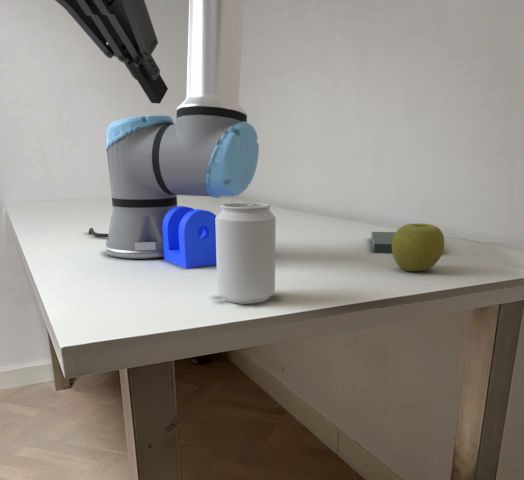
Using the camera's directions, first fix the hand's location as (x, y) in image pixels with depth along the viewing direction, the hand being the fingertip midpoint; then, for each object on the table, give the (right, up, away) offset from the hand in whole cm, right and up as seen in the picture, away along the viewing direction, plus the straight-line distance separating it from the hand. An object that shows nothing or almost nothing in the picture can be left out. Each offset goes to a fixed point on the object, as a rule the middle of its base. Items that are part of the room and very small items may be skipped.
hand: (159, 95), depth 77 cm
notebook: (+42, -15, +33) cm, 56 cm away
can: (+12, -29, -5) cm, 32 cm away
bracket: (+7, -20, +21) cm, 29 cm away
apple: (+39, -23, +11) cm, 47 cm away
